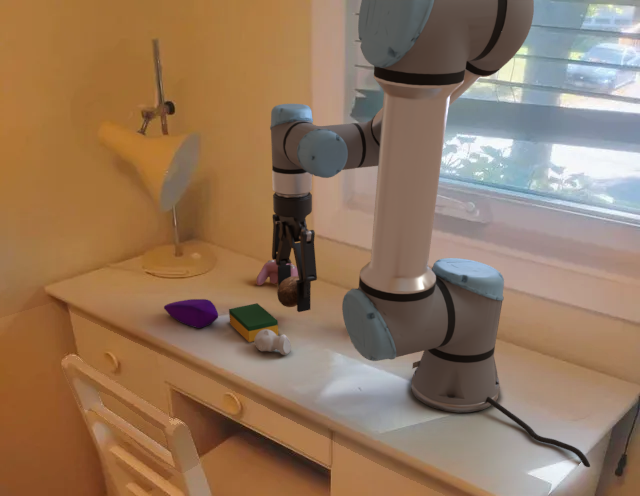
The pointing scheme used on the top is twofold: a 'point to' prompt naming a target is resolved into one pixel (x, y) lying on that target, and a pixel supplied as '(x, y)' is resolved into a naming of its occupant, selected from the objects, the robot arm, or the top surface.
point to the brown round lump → (288, 291)
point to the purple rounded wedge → (193, 312)
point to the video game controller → (273, 272)
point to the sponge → (252, 320)
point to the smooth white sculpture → (272, 342)
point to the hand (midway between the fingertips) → (294, 302)
